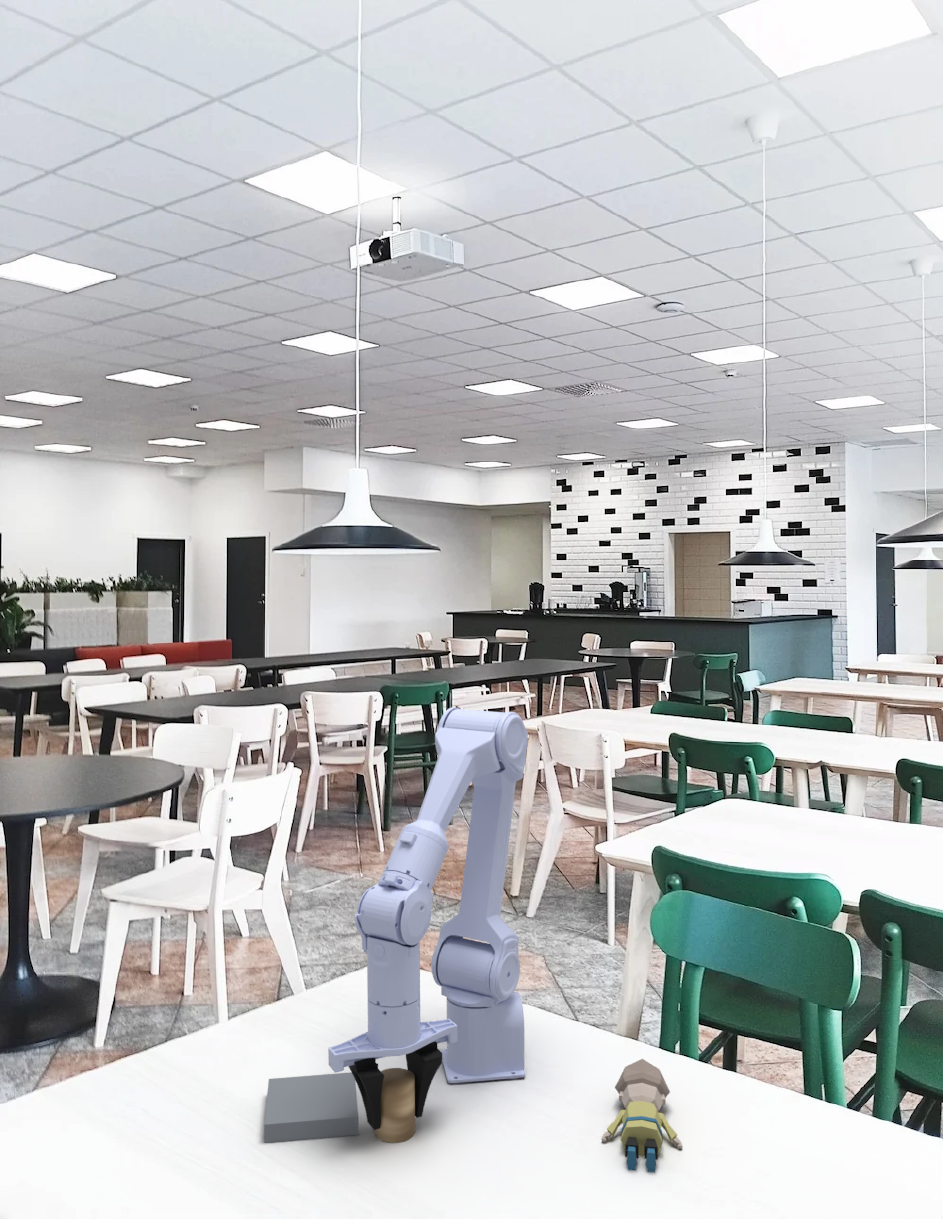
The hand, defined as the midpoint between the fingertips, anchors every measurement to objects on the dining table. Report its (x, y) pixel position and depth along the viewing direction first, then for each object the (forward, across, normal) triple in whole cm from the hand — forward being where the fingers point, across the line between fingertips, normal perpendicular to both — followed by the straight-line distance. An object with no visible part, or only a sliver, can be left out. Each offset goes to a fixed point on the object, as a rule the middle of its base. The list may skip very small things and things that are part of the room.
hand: (394, 1118), depth 112 cm
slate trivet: (+1, +7, -8) cm, 10 cm away
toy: (+2, -24, +13) cm, 27 cm away
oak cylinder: (+1, 0, 0) cm, 1 cm away
